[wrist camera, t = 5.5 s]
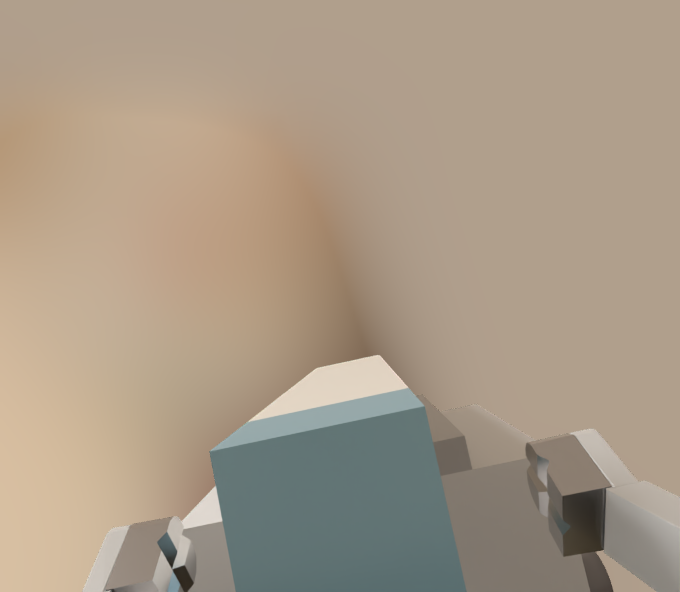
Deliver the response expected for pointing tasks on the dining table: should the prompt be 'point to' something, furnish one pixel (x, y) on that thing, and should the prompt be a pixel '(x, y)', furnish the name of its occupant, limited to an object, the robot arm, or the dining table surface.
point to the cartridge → (337, 490)
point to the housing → (456, 515)
